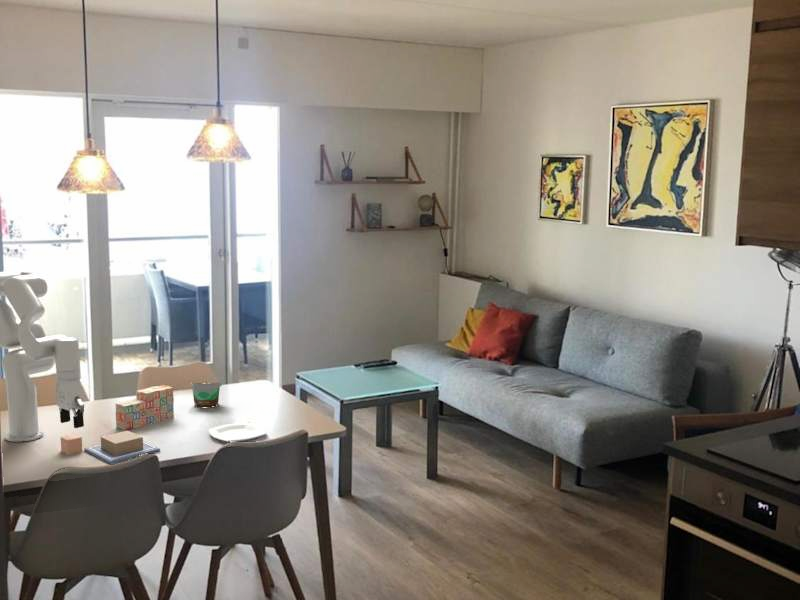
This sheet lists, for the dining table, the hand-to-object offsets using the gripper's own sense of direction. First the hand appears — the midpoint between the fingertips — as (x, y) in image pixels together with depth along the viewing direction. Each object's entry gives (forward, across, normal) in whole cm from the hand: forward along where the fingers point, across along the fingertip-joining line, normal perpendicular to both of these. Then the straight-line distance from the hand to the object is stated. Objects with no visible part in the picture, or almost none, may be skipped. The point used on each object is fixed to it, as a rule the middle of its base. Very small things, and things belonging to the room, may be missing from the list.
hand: (72, 424), depth 284 cm
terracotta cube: (+10, -1, 0) cm, 10 cm away
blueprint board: (+10, +11, +12) cm, 19 cm away
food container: (+10, -15, +63) cm, 65 cm away
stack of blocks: (+10, -13, +34) cm, 38 cm away
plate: (+11, +24, +50) cm, 56 cm away
